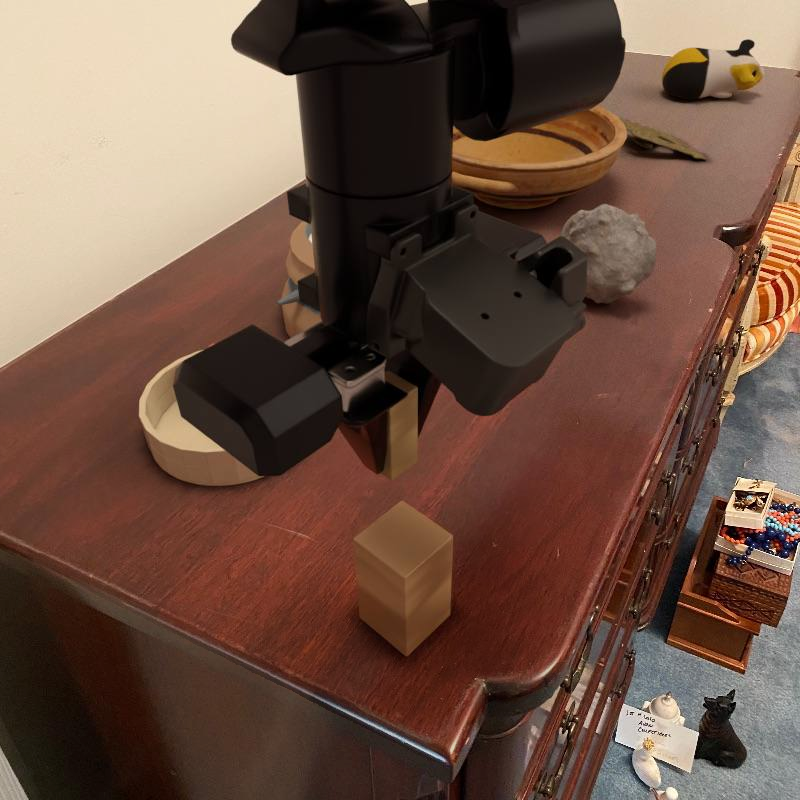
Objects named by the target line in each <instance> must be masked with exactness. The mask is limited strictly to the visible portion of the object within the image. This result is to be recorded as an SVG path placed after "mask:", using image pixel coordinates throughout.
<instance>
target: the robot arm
mask: <svg viewBox="0 0 800 800" xmlns="http://www.w3.org/2000/svg"><path fill="white" fill-rule="evenodd" d="M230 44H231V46H232V49H233V50H234V51H235V52H236V53H238V54H240V55H242V56H244V57H246V58H247V59H250V60H252V61H254V62H257V63H258V64H260V65H263V66H264V67H267V68H269V69H271V70H273V71H275V72H277V73H280V74H281V75H284V76H288V77H290V76H291V77H292V76H295V81H296V92H297V101H298V102H297V103H298V110H299V122H300V132H301V141H302V151H303V162H304V170H305V171H304V172H305V175H304V176H305V183H304V184H301V185H299V186H296V187H294V188H292V189H289V190H287V191H286V198H287V205H288V206H287V207H288V215H289V216H291V217H294V218H295V219H298V220H300V221H301V222H303V221H304V222H306V223H309V224H310V225H311V235H312V245H313V255H314V265H315V272H314V273H312V274H310V275H308V276H306V277H304V278H302V279H300V280H298V281H297V283H298V291H299V300H300V301H301V302H303V303H305V304H307V305H309V306H310V307H312V308H314V309H316V310H318V311H320V318H321V322H319V323H317V324H315V325H313V326H312V327H310V328H308V329H306V330H304V331H303V332H301V333H299V334H297V335H295V336H294V337H292V338H290V337H289V339H287V340H285V341H284V342H283V341H282V340H281V339H278V338H277V337H275V336H273V335H271V334H270V333H268V332H267V331H265V330H263V329H262V328H260V327H258V326H256V325H255V324H250V325H248V326H246V327H244V328H242V329H240V330H239V331H237V332H234V333H233V334H231V335H229V336H227V337H225V338H223V339H221V340H220V341H217V342H216V343H214V345H212V346H210V345H209V346H210V347H209V346H208V347H207V348H204V349H202V350H203V351H201V352H199V353H197V354H195V355H193V356H191V357H189V358H187V359H185V360H184V361H183V362H182V363H181V364H180V365H179V366H178V367H177V368H176V370H175V377H174V383H173V388H174V392H175V396H176V399H177V403H178V407H179V411H180V415H181V417H182V418H183V419H185V420H186V421H187V422H189V423H190V424H191V425H193V426H194V427H195V428H197V429H198V430H199V431H200V432H202V433H203V434H204V435H206V436H207V437H208V438H210V439H211V440H212V441H213V442H215V443H216V444H217V445H219V446H220V447H221V448H223V449H224V450H225V451H227V452H228V453H229V454H230V455H232V456H233V457H234V458H236V459H237V460H238V461H240V462H241V463H242V464H243V465H245V466H246V467H247V468H249V469H250V470H251V471H253V472H254V473H255V474H257V475H258V476H265V477H277V476H278V477H280V476H282V475H283V474H285V473H286V472H287V471H289V470H290V469H292V468H294V467H296V465H298V464H300V463H301V462H302V461H304V460H305V459H307V458H308V457H310V456H311V455H313V454H314V453H315V452H317V451H319V450H320V449H321V448H323V447H324V446H326V445H328V444H329V443H330V442H331V441H332V439H333V438H334V436H335V434H336V432H337V430H339V431H340V433H341V434H342V436H343V438H345V440H346V441H347V443H348V444H349V446H350V447H351V449H352V450H353V452H354V453H355V455H356V456H357V457H358V459H359V460H360V462H361V463H362V465H364V467H365V468H367V469H368V470H369V471H371V472H372V473H374V474H375V475H381V474H380V473H381V472H383V471H384V466H385V459H386V453H387V410H389V409H390V408H392V407H393V406H394V405H396V404H397V403H399V402H400V401H402V400H403V399H405V398H406V397H407V396H408V393H406V392H405V391H403V390H401V389H400V388H398V387H396V386H394V385H393V384H391V383H389V382H387V381H386V380H385V373H386V372H387V371H390V372H392V373H394V374H395V375H397V376H399V377H401V378H402V379H404V380H406V381H408V382H410V383H411V384H413V385H415V386H417V388H418V439H419V438H420V435H421V434H422V431H423V428H424V425H425V423H426V421H427V418H428V416H429V414H430V411H431V409H432V406H433V404H434V401H435V399H436V397H437V395H438V392H439V390H440V388H441V386H442V385H443V386H444V387H445V388H447V389H448V390H449V391H450V392H451V393H452V394H453V396H454V399H455V401H456V403H458V404H459V405H460V406H461V407H462V408H464V409H465V410H466V411H467V412H469V413H470V414H473V415H476V416H479V417H490V416H494V415H496V414H497V413H499V412H500V411H502V410H503V409H504V408H505V407H506V406H508V404H509V403H510V402H511V401H512V400H514V399H515V398H516V397H518V396H519V395H520V394H521V393H523V392H524V391H525V390H527V389H528V388H529V387H530V386H532V385H533V384H537V383H538V382H539V381H540V380H541V379H542V378H543V377H544V376H545V374H546V373H547V371H548V369H549V368H550V366H551V364H552V363H553V361H554V360H555V358H556V356H557V355H558V353H559V352H560V350H561V349H562V347H563V345H564V344H565V342H567V341H568V340H570V339H571V338H572V337H573V336H575V335H576V334H577V333H579V332H580V331H581V330H583V329H584V328H585V326H586V318H585V316H584V314H583V313H584V312H585V310H586V308H587V304H585V303H584V302H583V301H584V299H585V298H586V297H585V295H586V285H587V254H585V253H584V252H583V251H582V250H580V249H579V248H578V247H577V246H575V245H574V244H573V243H572V242H570V241H569V240H568V239H567V238H565V237H563V236H560V235H559V236H558V237H556V238H555V239H552V240H551V241H549V242H547V240H546V239H545V237H544V235H543V234H541V233H538V232H535V231H533V230H530V229H528V228H525V227H523V226H519V225H517V224H514V223H512V222H509V221H506V220H503V219H501V218H498V217H495V216H493V215H490V214H487V213H486V212H485V213H484V212H482V211H480V209H479V207H478V205H476V204H474V201H475V196H474V193H473V192H470V191H467V190H464V189H461V188H459V187H456V186H454V185H452V155H453V125H454V127H455V128H456V129H457V130H458V131H460V132H461V133H462V134H464V135H465V136H466V137H468V138H470V139H472V140H476V141H485V142H486V141H489V140H493V139H496V138H500V137H503V136H506V135H509V134H512V133H516V132H519V131H522V130H525V129H528V128H532V127H535V126H538V125H541V124H544V123H548V122H551V121H554V120H557V119H560V118H564V117H567V116H570V115H573V114H576V113H579V112H583V111H586V110H589V109H592V108H593V107H595V106H596V105H597V106H599V104H602V102H603V101H604V100H605V99H606V98H607V97H608V96H609V94H610V93H611V92H612V91H613V89H614V88H615V85H616V84H617V81H618V79H619V77H620V75H621V72H622V68H623V64H624V62H625V55H626V47H627V46H626V45H627V44H626V39H625V38H624V36H623V30H622V22H621V17H620V14H619V11H618V7H617V4H616V2H615V0H427V1H426V2H421V3H415V4H411V5H410V4H409V2H407V1H406V0H260V1H258V4H256V6H254V7H253V9H252V10H251V11H249V12H248V13H247V14H246V16H245V17H244V18H243V19H242V21H241V22H240V24H239V25H238V26H237V27H236V29H235V30H234V31H233V32H232V34H231V38H230Z"/></svg>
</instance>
